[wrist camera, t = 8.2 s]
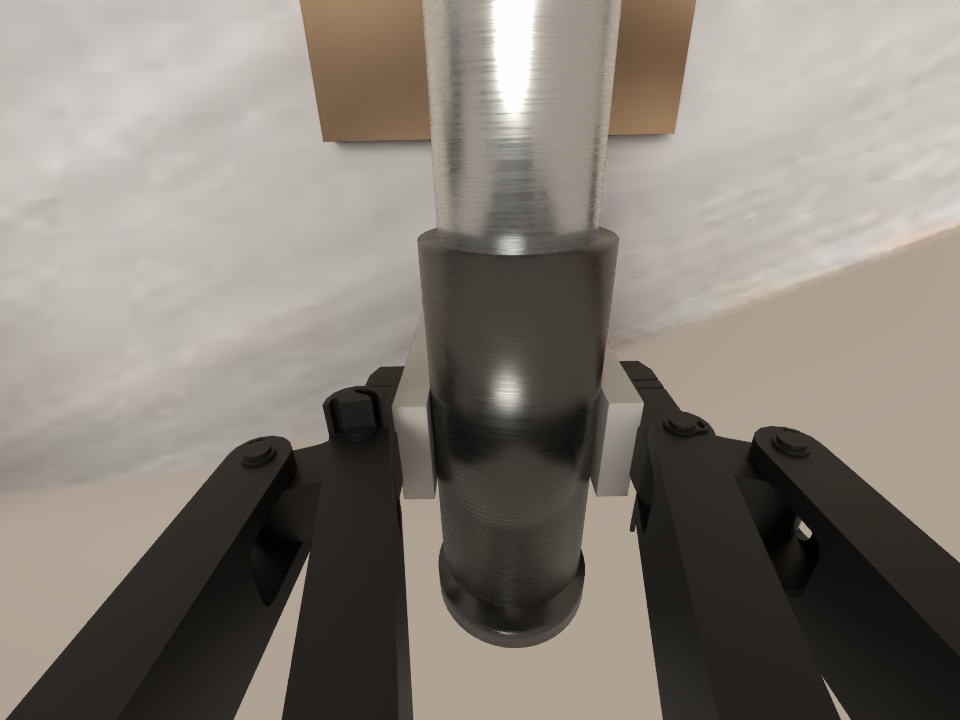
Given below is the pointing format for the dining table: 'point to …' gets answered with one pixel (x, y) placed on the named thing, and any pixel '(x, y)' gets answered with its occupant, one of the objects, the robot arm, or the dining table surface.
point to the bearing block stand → (403, 75)
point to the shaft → (516, 300)
